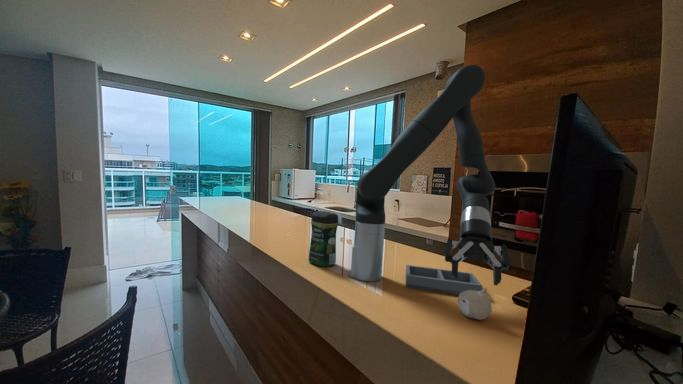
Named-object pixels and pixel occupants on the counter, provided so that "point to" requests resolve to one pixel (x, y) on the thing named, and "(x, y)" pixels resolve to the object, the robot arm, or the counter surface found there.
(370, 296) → the counter surface
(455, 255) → the robot arm
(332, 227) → the coffee jar
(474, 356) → the counter surface
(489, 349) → the counter surface
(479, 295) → the garlic bulb
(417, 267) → the tray
